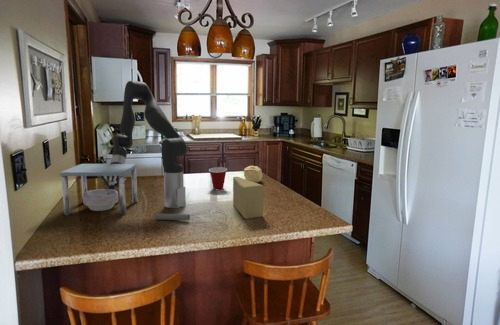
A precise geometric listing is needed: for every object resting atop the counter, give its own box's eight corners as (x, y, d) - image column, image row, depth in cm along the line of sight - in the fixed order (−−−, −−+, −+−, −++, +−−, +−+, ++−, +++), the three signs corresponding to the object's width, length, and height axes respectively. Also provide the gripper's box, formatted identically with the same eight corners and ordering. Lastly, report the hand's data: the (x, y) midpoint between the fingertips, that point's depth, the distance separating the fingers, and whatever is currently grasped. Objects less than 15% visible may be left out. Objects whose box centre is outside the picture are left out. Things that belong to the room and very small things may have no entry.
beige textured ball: (242, 183, 219) (242, 166, 217) (247, 179, 230) (247, 163, 228) (259, 184, 216) (259, 167, 214) (264, 180, 227) (264, 164, 225)
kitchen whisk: (155, 217, 152) (155, 203, 151) (229, 223, 145) (229, 209, 144) (149, 221, 146) (148, 207, 145) (225, 228, 140) (225, 213, 138)
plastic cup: (205, 189, 201) (205, 169, 199) (215, 185, 211) (215, 166, 209) (220, 191, 196) (220, 171, 194) (230, 187, 206) (230, 168, 204)
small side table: (84, 201, 173) (81, 163, 170) (138, 201, 175) (136, 163, 172) (63, 215, 152) (59, 172, 148) (124, 215, 153) (122, 172, 150)
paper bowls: (124, 204, 169) (123, 189, 168) (106, 214, 154) (105, 197, 153) (96, 202, 172) (95, 187, 170) (76, 212, 157) (75, 195, 156)
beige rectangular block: (225, 206, 169) (225, 176, 167) (243, 203, 173) (243, 175, 171) (244, 219, 149) (244, 186, 147) (263, 216, 154) (264, 184, 151)
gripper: (102, 161, 180) (94, 189, 170) (128, 161, 181) (121, 189, 171) (106, 169, 186) (99, 197, 176) (131, 169, 187) (125, 197, 177)
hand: (110, 193), depth 173 cm, fingers closed
